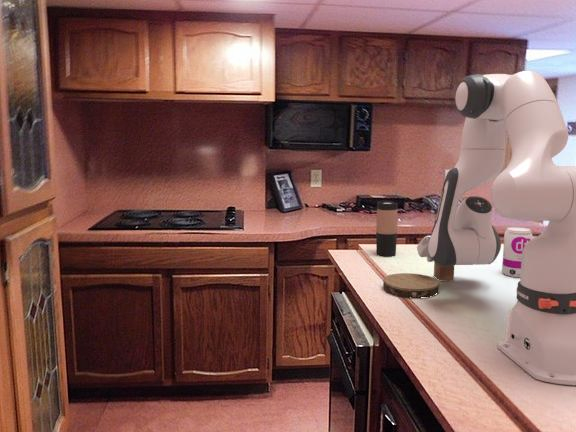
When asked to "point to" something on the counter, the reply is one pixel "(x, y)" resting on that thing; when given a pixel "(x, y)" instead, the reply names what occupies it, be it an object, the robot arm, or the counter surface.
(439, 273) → the walnut block
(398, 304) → the counter surface
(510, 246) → the supplement can
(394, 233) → the travel mug
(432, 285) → the wood slice
